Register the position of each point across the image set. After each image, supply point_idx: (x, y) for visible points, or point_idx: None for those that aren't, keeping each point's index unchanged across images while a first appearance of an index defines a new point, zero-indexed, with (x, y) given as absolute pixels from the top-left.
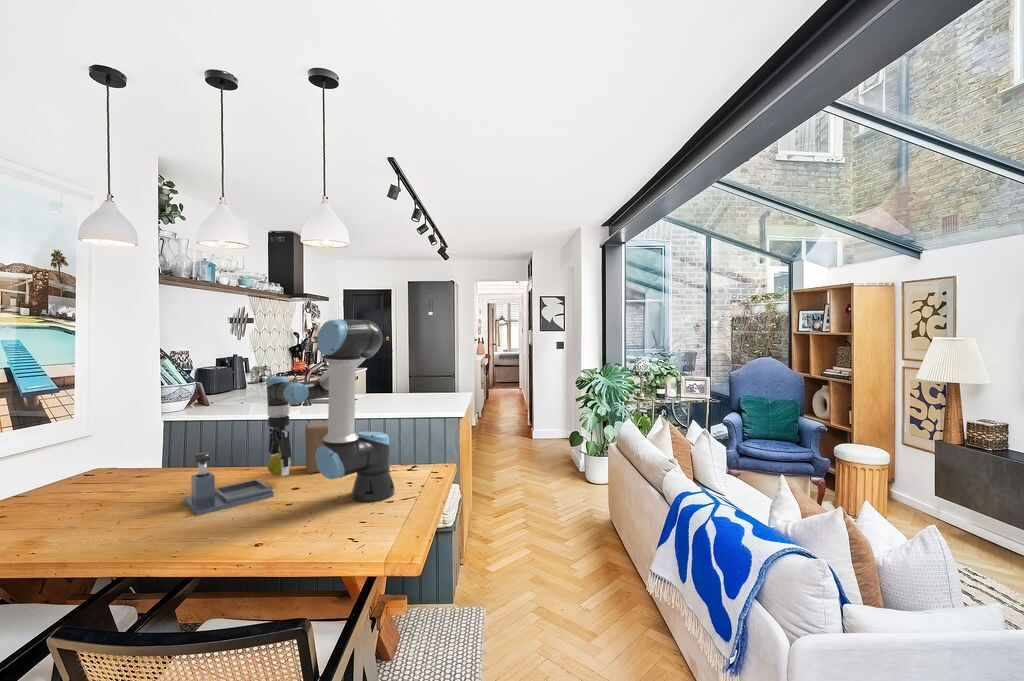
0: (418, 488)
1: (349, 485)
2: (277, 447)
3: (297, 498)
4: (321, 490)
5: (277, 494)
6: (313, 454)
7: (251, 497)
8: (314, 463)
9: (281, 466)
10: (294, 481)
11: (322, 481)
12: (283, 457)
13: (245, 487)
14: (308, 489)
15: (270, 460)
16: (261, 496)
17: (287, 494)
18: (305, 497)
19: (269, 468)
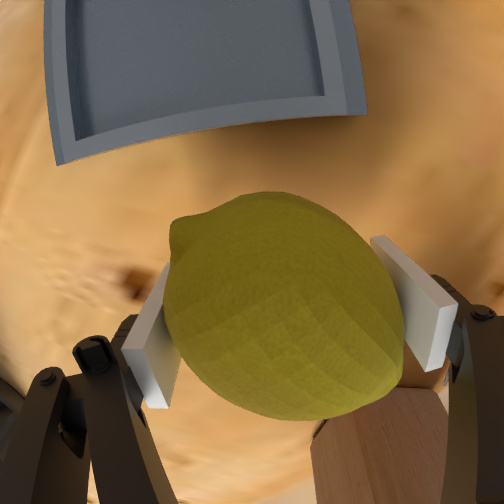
0: None
1: None
2: (452, 420)
3: (10, 251)
4: (66, 351)
5: (89, 185)
6: (352, 478)
7: (48, 54)
8: (341, 440)
9: (150, 300)
10: None
11: (182, 396)
12: (86, 372)
13: (266, 27)
14: (96, 323)
15: (250, 244)
16: (50, 102)
17: (67, 228)
18: (11, 279)
19: (234, 199)
